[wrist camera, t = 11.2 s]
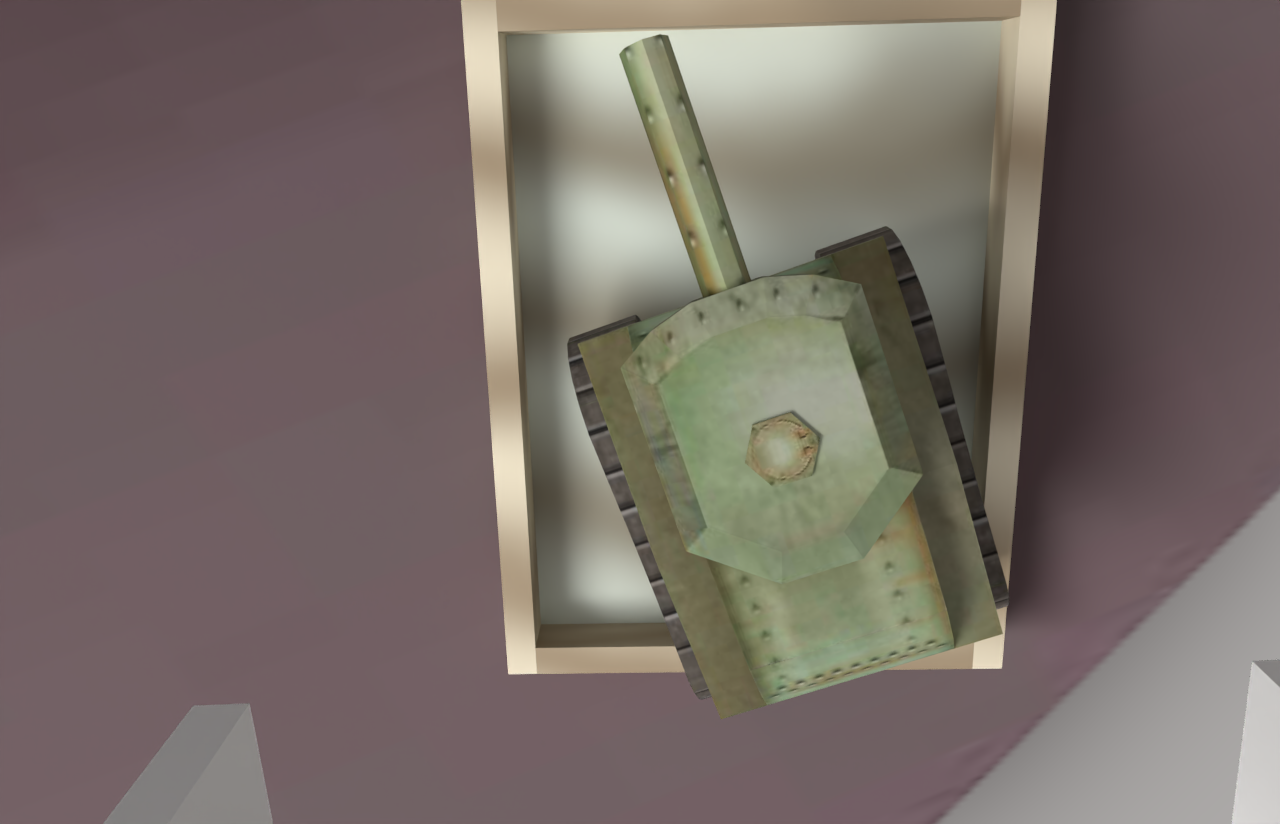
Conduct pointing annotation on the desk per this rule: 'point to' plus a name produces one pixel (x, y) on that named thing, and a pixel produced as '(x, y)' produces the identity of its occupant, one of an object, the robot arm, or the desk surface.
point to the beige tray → (766, 232)
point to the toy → (785, 448)
